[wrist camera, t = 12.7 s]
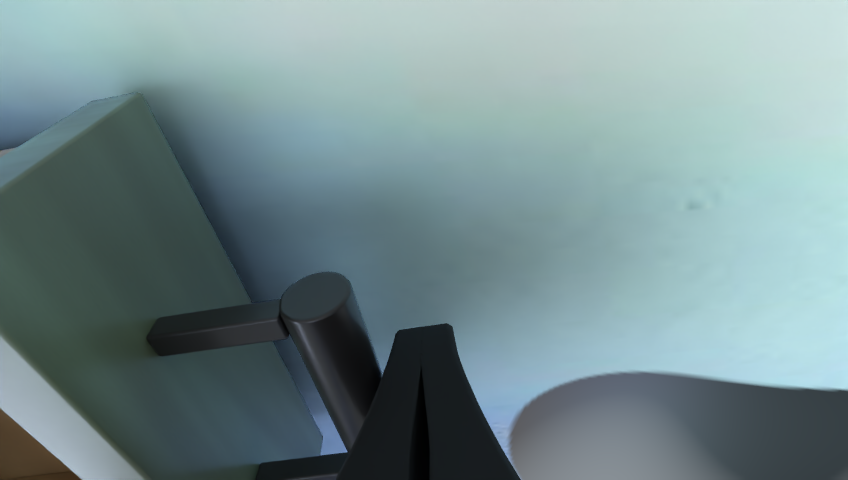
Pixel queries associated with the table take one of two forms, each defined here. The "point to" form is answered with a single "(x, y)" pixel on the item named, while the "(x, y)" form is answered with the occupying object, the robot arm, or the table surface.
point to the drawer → (153, 323)
